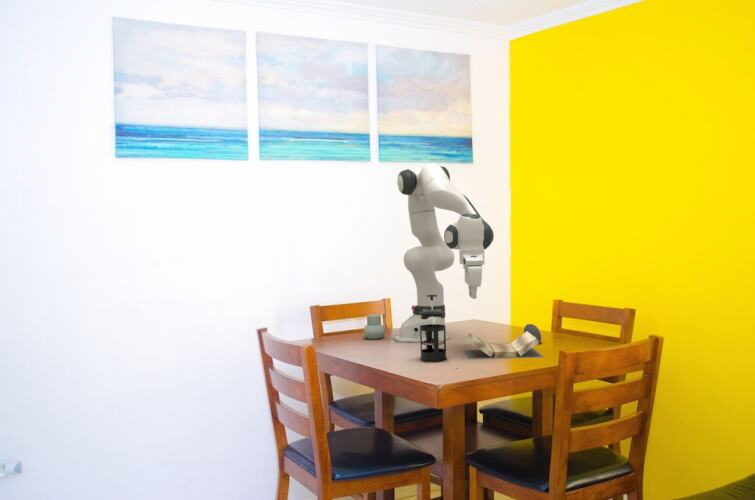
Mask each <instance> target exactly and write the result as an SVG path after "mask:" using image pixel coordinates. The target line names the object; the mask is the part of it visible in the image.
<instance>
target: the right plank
mask: <svg viewBox="0 0 755 500" xmlns="http://www.w3.org/2000/svg"><path fill="white" fill-rule="evenodd" d="M538 343H539V341H538V340H537V339H536V338H535V337H534V336H533V335H532V334H530V333H529V332H528V331H527V332H525V333H524V332H523V333H522V334H521V335H520V336H518V337H517V338H516V339H515V340H513V341H512V342H510V343H509V345H510V346H511V347H512V348H513V349H514V350H515V351H516V352H517V353H518V354H519V355H520V356H522V355H523V354H524V353H526V352H527V351H528V350H530V349H531V348H534V347H535V346H537V345H539V344H538Z"/></svg>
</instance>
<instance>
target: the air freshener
mask: <svg viewBox="0 0 755 500" xmlns="http://www.w3.org/2000/svg"><path fill="white" fill-rule="evenodd" d="M363 331H364V332H363V333H364V338H366V339H367V340H381V339H383V338H385V325H383V324H382V316H381V314H376V313H375V314H373V313H372V314H368V315H366V325H365V326H364V329H363Z"/></svg>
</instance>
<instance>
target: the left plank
mask: <svg viewBox="0 0 755 500" xmlns="http://www.w3.org/2000/svg"><path fill="white" fill-rule="evenodd" d="M466 339H467V340H468V342H470V344H471V345H472V346H474V347H475V348H477V350H481V351H483V352H484V353H486V354H487V355H489V356H490V357H491V356H492V355H493V353H494V351H493V350H492V349H491V348H490V346H489V344H488V343H486V342H485V341H483V340H482V339H480V338H479V337H478V336H476V335H475V334H472V333H471V332H469V333H468V335H467V336H466Z"/></svg>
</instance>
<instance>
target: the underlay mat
mask: <svg viewBox="0 0 755 500" xmlns="http://www.w3.org/2000/svg"><path fill="white" fill-rule="evenodd" d="M463 351H464V354H465V355H466V357H467V359H468V360H486V359H487V360H488V359H489V360H490V359H496V360H497V358H495V357H494V356H493V355H492V356H491V357H490V356H489V355H487V354H486V353H484V352H483V351H481V350H480V349H463ZM516 355H517V357H509V358H508V359H528V358H529V359H530V358H544V355H542V354H541V353H540V352H539V351H538V350H536V349H535V348H534V347H533V348H531V349H530V350H528V351H527V352H526V353H524V354H523V355H522V356H520V355H519V354H518V353H517V352H516Z"/></svg>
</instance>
